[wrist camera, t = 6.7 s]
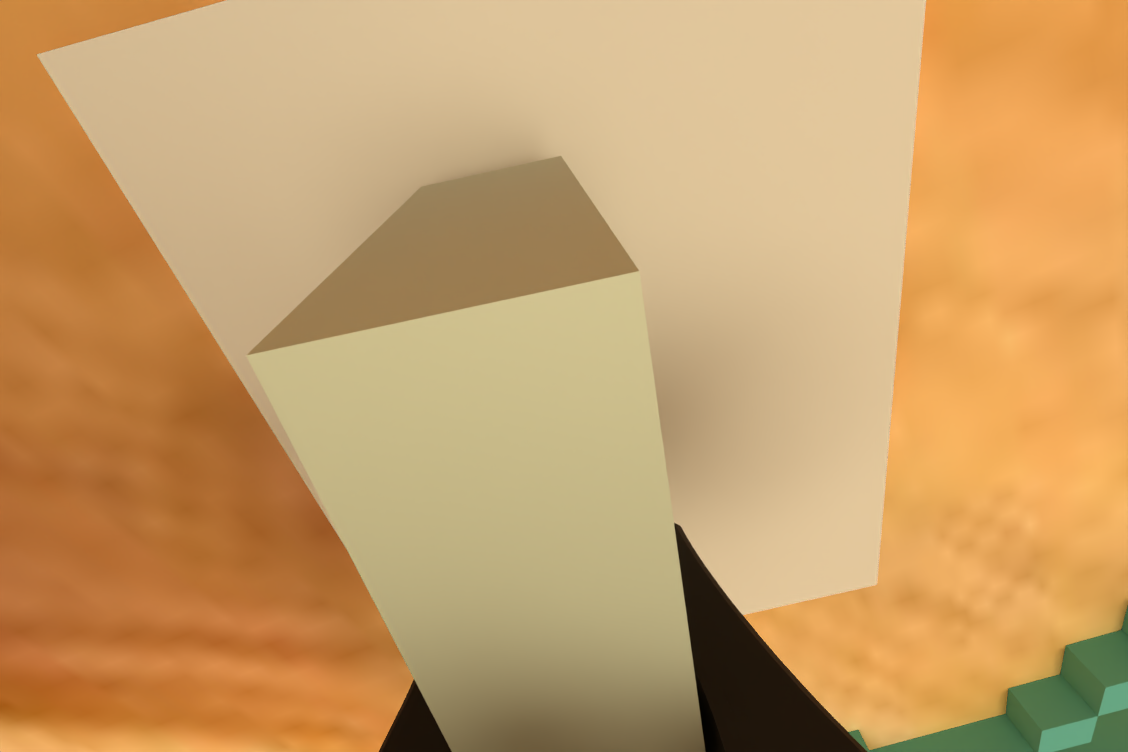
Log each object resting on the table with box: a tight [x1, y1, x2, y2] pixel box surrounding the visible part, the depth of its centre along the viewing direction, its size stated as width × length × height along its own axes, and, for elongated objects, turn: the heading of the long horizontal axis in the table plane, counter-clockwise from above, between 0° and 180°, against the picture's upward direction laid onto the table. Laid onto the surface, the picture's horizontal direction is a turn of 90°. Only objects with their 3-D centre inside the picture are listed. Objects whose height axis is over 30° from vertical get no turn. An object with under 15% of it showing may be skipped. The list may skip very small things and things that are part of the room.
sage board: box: [246, 156, 705, 752], centre depth 9 cm, size 2×12×7 cm, turn 11°
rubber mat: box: [37, 0, 926, 615], centre depth 15 cm, size 16×20×1 cm
